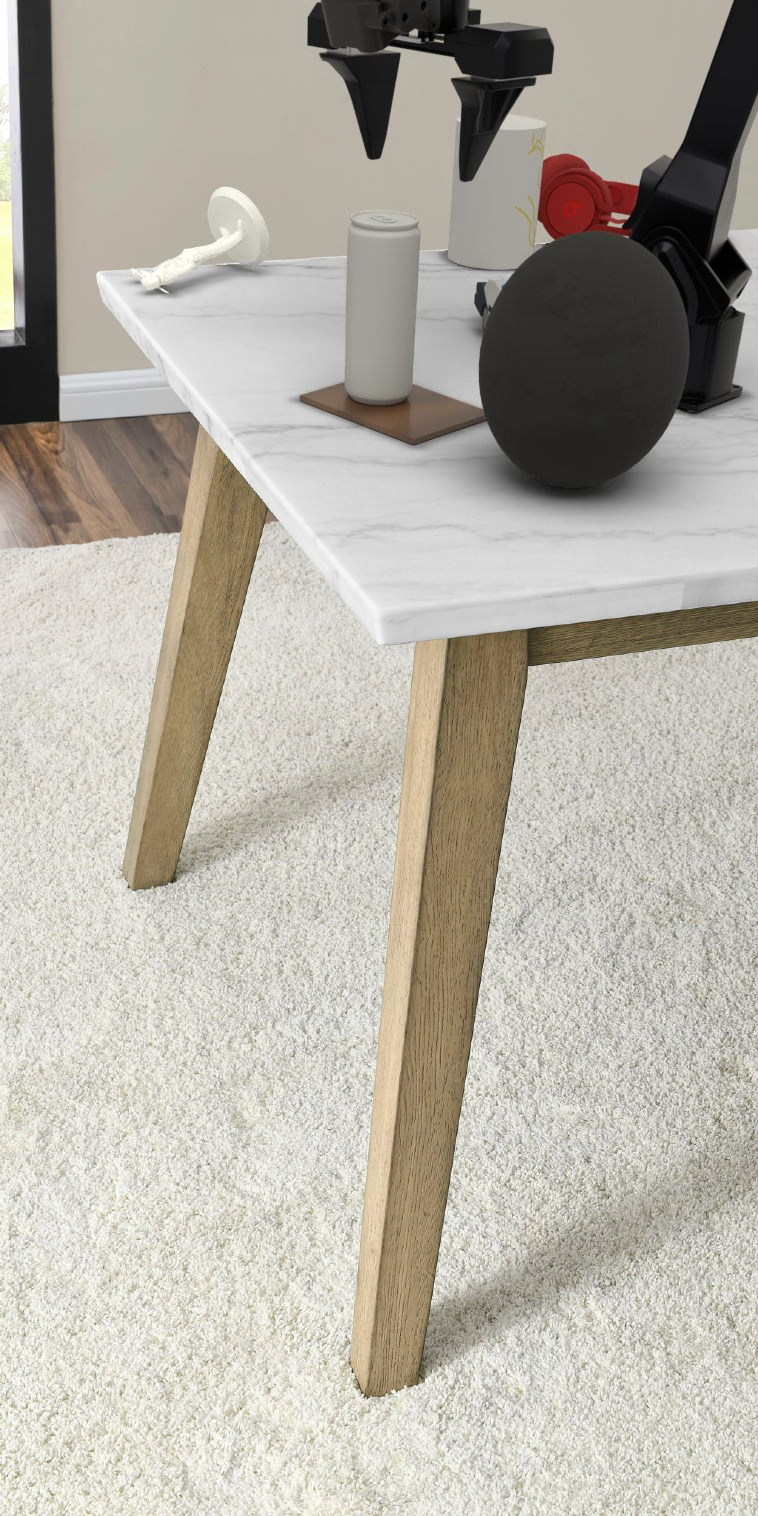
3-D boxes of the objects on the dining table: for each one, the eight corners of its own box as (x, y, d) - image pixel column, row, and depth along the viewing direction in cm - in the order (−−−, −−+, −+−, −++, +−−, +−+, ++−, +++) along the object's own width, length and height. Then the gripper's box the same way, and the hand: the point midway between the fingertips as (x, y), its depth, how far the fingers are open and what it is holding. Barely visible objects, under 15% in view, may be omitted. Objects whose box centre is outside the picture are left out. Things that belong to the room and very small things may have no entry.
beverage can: (372, 412, 96) (380, 229, 89) (329, 392, 99) (333, 214, 92) (425, 399, 99) (436, 220, 92) (381, 380, 102) (389, 205, 95)
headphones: (530, 141, 144) (715, 175, 147) (514, 213, 148) (695, 244, 151) (556, 170, 131) (757, 206, 135) (538, 248, 135) (734, 281, 138)
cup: (536, 271, 130) (550, 131, 124) (448, 267, 130) (457, 127, 124) (530, 249, 137) (543, 115, 130) (446, 245, 137) (455, 111, 130)
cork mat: (492, 417, 97) (493, 412, 97) (413, 445, 92) (413, 439, 92) (378, 377, 103) (379, 371, 103) (299, 400, 99) (299, 394, 98)
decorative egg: (486, 435, 94) (507, 200, 86) (672, 458, 92) (712, 219, 84) (453, 506, 84) (473, 247, 76) (661, 533, 82) (704, 271, 74)
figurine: (246, 180, 120) (148, 243, 114) (281, 259, 123) (188, 324, 118) (196, 193, 125) (100, 255, 119) (232, 269, 129) (140, 332, 123)
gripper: (248, -89, 94) (250, 160, 103) (456, -66, 84) (438, 209, 92) (366, -89, 101) (358, 144, 110) (571, -68, 91) (545, 188, 99)
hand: (419, 169), depth 103 cm, fingers open, 9 cm apart
